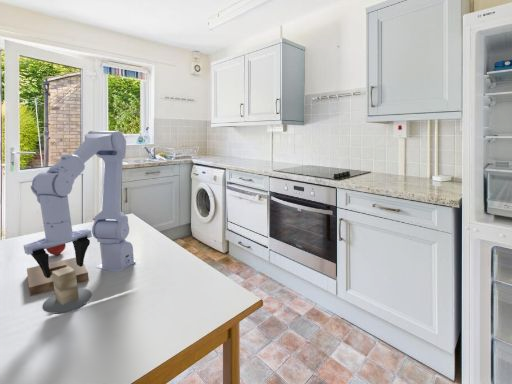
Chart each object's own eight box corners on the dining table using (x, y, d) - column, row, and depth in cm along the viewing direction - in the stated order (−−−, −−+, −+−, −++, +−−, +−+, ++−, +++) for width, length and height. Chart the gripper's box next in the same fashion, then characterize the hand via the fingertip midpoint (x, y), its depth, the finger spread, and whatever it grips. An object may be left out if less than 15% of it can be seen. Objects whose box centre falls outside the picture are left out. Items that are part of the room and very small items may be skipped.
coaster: (101, 294, 82) (101, 292, 82) (65, 317, 72) (65, 315, 72) (70, 287, 85) (70, 285, 85) (32, 309, 75) (31, 307, 75)
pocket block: (80, 264, 99) (79, 256, 99) (89, 281, 89) (87, 272, 88) (28, 277, 91) (26, 268, 90) (30, 297, 80) (28, 287, 79)
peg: (72, 293, 81) (68, 266, 80) (78, 298, 79) (75, 270, 77) (55, 299, 78) (51, 271, 77) (62, 305, 76) (58, 276, 74)
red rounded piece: (44, 259, 103) (41, 238, 101) (50, 253, 108) (47, 232, 107) (63, 258, 104) (60, 236, 103) (68, 251, 110) (66, 231, 108)
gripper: (80, 211, 82) (86, 257, 85) (15, 224, 70) (24, 277, 73) (93, 215, 78) (98, 263, 81) (26, 231, 66) (35, 286, 69)
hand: (64, 270), depth 77 cm, fingers open, 7 cm apart
